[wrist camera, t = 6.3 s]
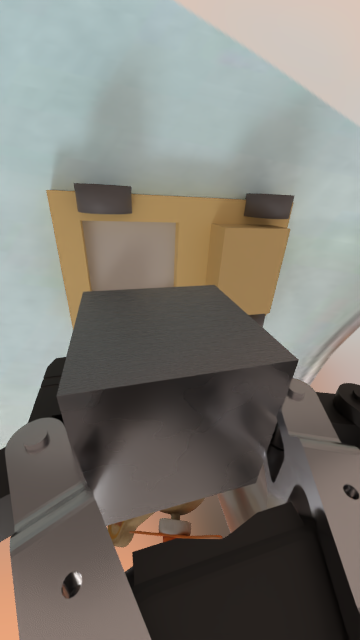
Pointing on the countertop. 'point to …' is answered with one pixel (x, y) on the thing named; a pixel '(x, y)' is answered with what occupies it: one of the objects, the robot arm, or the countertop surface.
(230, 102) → the countertop surface
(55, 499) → the robot arm
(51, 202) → the chassis
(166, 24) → the countertop surface
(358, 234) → the countertop surface
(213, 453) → the block
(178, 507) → the toy helicopter
